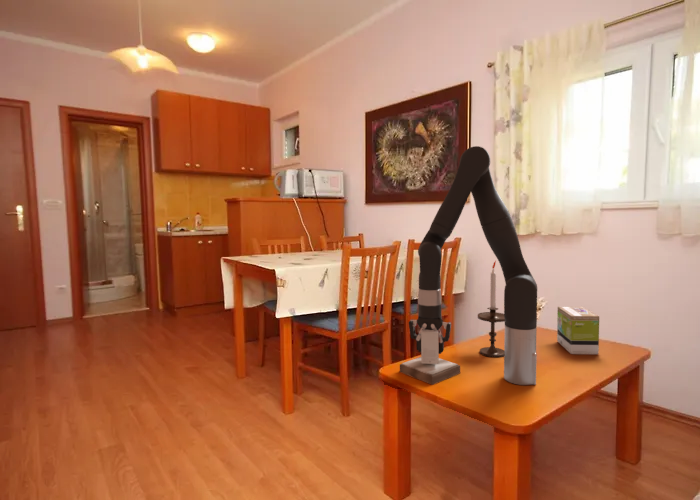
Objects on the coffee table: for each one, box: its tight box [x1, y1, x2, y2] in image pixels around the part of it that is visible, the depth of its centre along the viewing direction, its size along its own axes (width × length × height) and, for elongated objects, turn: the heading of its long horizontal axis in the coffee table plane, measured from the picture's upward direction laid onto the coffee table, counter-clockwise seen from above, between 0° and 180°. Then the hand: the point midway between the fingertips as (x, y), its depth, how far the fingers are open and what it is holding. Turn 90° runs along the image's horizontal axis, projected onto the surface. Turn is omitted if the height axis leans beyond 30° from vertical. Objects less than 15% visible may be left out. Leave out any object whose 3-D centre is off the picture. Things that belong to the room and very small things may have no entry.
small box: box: [420, 330, 440, 364], centre depth 138 cm, size 8×6×10 cm
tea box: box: [556, 306, 600, 355], centre depth 160 cm, size 15×10×15 cm, turn 172°
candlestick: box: [477, 260, 505, 358], centre depth 155 cm, size 11×11×35 cm
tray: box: [399, 356, 461, 386], centre depth 139 cm, size 14×14×3 cm
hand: (429, 352), depth 138 cm, fingers closed on small box, 6 cm apart
